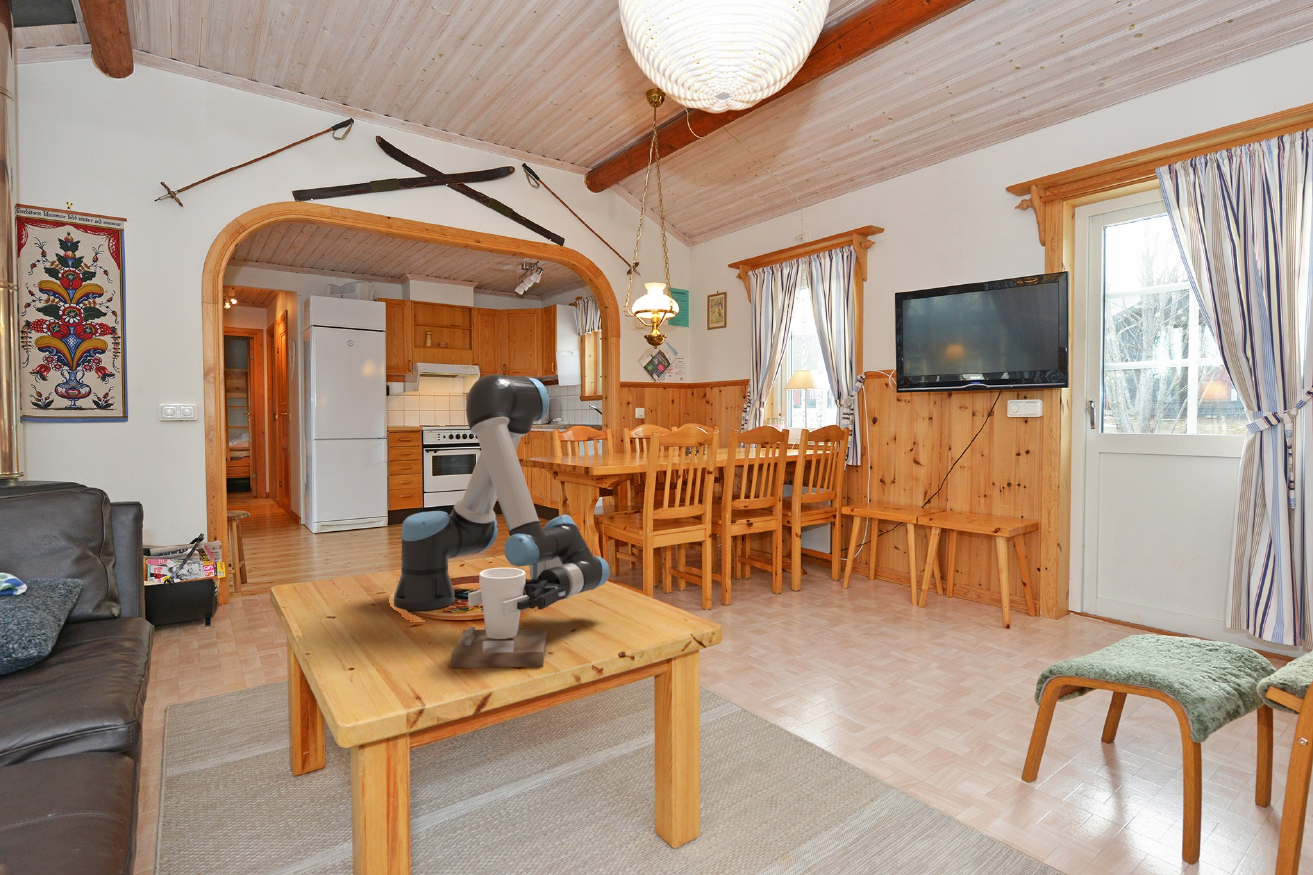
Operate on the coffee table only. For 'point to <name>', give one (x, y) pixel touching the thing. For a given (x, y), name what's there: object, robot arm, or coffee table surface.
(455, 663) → the shelf
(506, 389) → the robot arm
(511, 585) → the foam cup
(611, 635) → the coffee table surface
